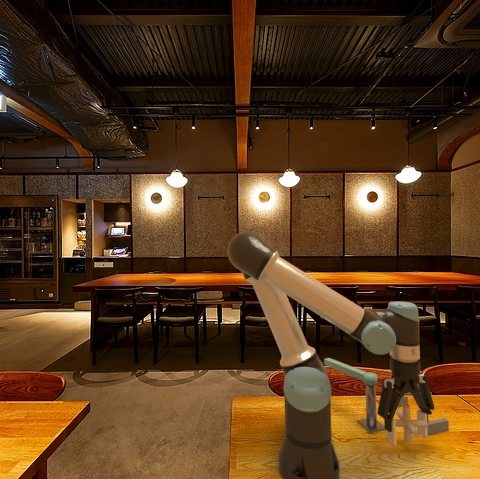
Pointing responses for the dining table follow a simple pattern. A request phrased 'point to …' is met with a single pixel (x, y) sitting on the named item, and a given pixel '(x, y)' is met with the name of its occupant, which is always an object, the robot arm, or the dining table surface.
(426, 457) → the dining table surface
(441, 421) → the rails
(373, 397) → the pivot post
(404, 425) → the pipe connector
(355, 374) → the grey-green bar
